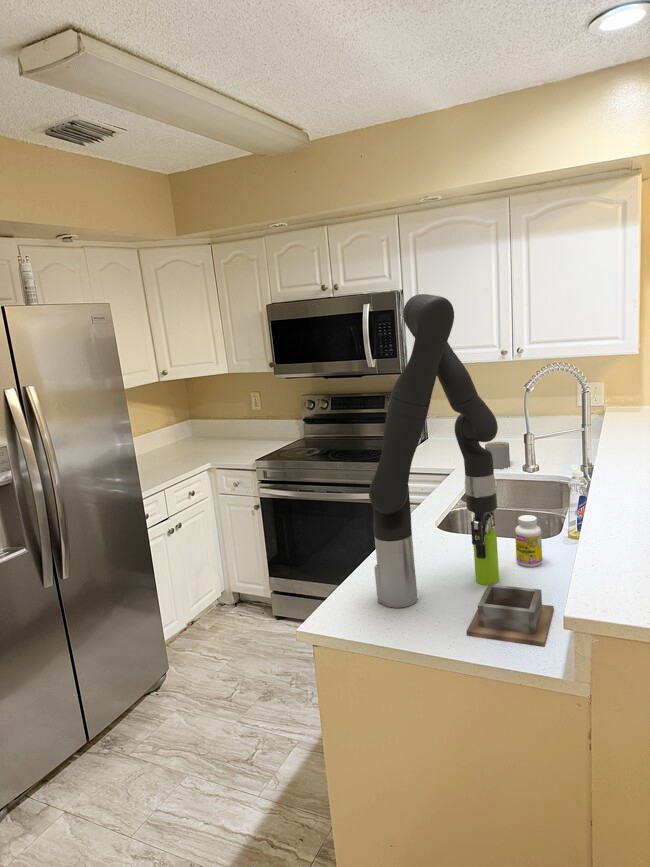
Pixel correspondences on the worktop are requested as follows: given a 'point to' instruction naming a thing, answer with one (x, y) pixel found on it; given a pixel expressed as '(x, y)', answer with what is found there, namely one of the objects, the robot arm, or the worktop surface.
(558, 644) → the worktop surface
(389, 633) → the worktop surface
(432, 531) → the worktop surface
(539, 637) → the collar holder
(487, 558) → the soap dispenser
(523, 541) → the supplement bottle
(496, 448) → the coffee mug
